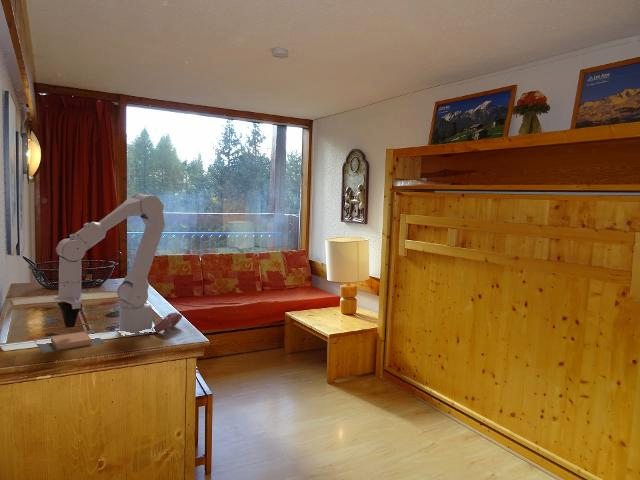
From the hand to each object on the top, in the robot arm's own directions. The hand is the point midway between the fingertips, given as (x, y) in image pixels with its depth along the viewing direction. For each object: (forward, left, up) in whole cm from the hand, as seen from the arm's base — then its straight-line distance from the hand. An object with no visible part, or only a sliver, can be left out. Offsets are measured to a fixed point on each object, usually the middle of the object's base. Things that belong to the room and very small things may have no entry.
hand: (69, 326), depth 134 cm
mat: (0, -1, -5) cm, 5 cm away
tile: (0, -2, -3) cm, 4 cm away
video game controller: (-29, +2, -5) cm, 29 cm away
